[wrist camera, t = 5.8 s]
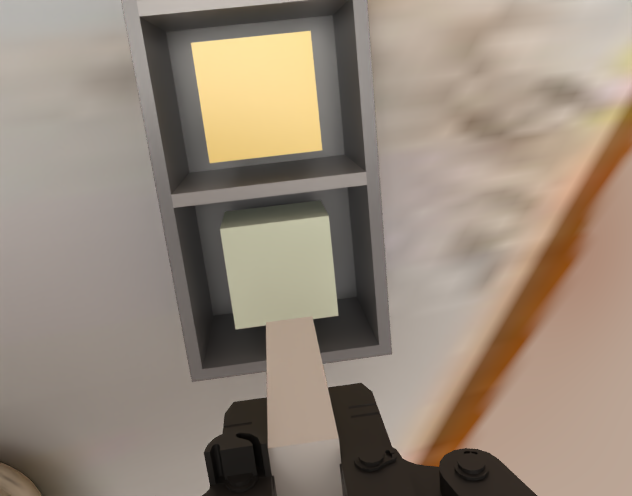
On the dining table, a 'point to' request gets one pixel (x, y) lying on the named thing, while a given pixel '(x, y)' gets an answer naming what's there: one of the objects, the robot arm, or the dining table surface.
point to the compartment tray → (263, 172)
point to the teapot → (15, 483)
